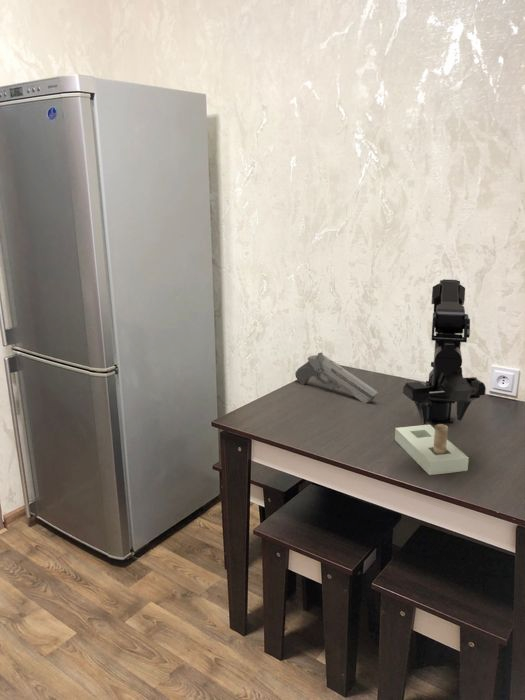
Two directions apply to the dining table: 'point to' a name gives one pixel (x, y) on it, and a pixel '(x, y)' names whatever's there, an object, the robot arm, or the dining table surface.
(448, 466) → the socket block
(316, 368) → the handgun
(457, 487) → the dining table surface
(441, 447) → the dowel
